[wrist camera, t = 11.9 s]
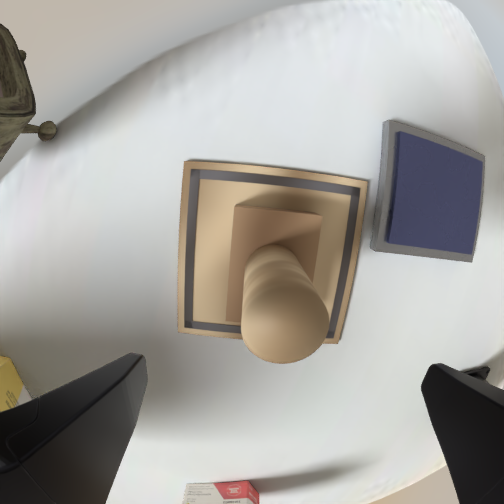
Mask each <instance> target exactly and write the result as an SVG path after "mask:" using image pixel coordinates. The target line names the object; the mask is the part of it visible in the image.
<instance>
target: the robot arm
mask: <svg viewBox="0 0 504 504" xmlns="http://www.w3.org/2000/svg"><path fill="white" fill-rule="evenodd" d="M489 371H490V368H489V367H485V368H481V369H477V370H473V371H469V372H464V373H462V372H460V371H458V370H456V369H453V368H451V367H449V366H447V365H444V364H442V363H438V364H432V365H431V366H430V367H429V369H428V371H427V373H426V375H425V377H424V379H423V382H422V384H421V391H422V394H423V397H424V400H425V403H426V407H427V410H428V413H429V417H430V420H431V423H432V426H433V428H434V431H435V433H436V436H437V439H438V441H439V444H440V446H441V449H442V452H443V454H444V457H445V460H446V463H447V466H448V468H449V471H450V474H451V477H452V480H453V483H454V487H455V490H456V493H457V497H458V500H459V503H460V504H504V390H502V389H500V388H497V387H495V386H493V385H490V384H489V383H488V382H487V381H486V380H485V379H486V377H487V375H488V373H489ZM147 380H148V378H147V369H146V361H145V357H144V356H143V355H140V354H135V353H129V354H127V355H125V356H123V357H121V358H119V359H117V360H115V361H113V362H111V363H109V364H107V365H105V366H103V367H101V368H99V369H97V370H95V371H93V372H91V373H88V374H86V375H84V376H82V377H80V378H78V379H76V380H74V381H72V382H70V383H68V384H65V385H63V386H61V387H59V388H57V389H55V390H53V391H50V392H48V393H46V394H44V395H42V396H40V398H38V397H37V398H35V399H33V400H30V401H28V402H26V403H23V404H21V405H18V406H16V407H14V408H11V409H8V410H5V411H2V412H0V504H105V503H106V500H107V498H108V495H109V492H110V490H111V487H112V484H113V482H114V479H115V476H116V474H117V471H118V469H119V466H120V463H121V461H122V458H123V456H124V453H125V451H126V448H127V446H128V443H129V441H130V438H131V436H132V433H133V431H134V428H135V426H136V422H137V419H138V415H139V411H140V407H141V404H142V400H143V397H144V393H145V389H146V386H147Z"/></svg>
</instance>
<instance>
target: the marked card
mask: <svg viewBox="0 0 504 504" xmlns="http://www.w3.org/2000/svg"><path fill="white" fill-rule="evenodd" d="M367 183H368V182H366V181H361V180H355V179H350V178H344V177H338V176H332V175H325V174H318V173H312V172H304V171H297V170H289V169H280V168H271V167H262V166H252V165H240V164H228V163H213V162H195V161H184V169H183V180H182V193H181V208H180V225H179V249H178V332H181V333H188V334H196V335H204V336H213V337H223V338H233V339H243V337H242V333H241V323H240V322H229V321H226V306H227V292H228V278H229V264H230V251H231V239H232V227H233V215H234V206H235V205H236V204H240V205H251V206H261V207H271V208H281V209H290V210H299V211H308V212H315V213H317V214H319V215H322V224H321V231H320V238H319V246H318V252H317V259H316V266H315V272H314V278H313V286H314V287H315V289H316V291H317V293H318V294H319V296H320V298H321V299H322V301H323V303H324V304H325V306H326V308H327V311H328V314H329V330H328V333H327V336H326V338H325V340H324V342H323V343H322V344H338V341H339V338H340V334H341V330H342V326H343V322H344V318H345V313H346V309H347V305H348V300H349V296H350V291H351V286H352V281H353V276H354V271H355V266H356V260H357V255H358V249H359V243H360V237H361V230H362V223H363V216H364V209H365V201H366V192H367Z"/></svg>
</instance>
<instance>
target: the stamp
mask: <svg viewBox="0 0 504 504" xmlns="http://www.w3.org/2000/svg"><path fill="white" fill-rule="evenodd" d="M321 224H322V215H319V214H317V213H315V212H308V211H299V210H290V209H281V208H271V207H261V206H251V205H240V204H236V205H235V206H234V215H233V227H232V239H231V251H230V264H229V278H228V292H227V306H226V321H229V322H240V323H241V333H242V337H243V340H244V342H245V344H246V346H247V347H248V349H249V350H250V351H251V352H252V353H253V354H254V355H256V356H257V357H259V358H261V359H263V360H265V361H268V362H272V363H279V364H285V363H292V362H296V361H299V360H302V359H304V358H306V357H308V356H310V355H311V354H312V353H314V352H315V351H316V350H317V349H318V348H319V347H320V346H321V344H322V343H323V342H324V340H325V338H326V336H327V333H328V330H329V314H328V311H327V308H326V306H325V304H324V303H323V301H322V299H321V298H320V296H319V294H318V293H317V291H316V289H315V287H314V286H313V278H314V272H315V266H316V259H317V252H318V246H319V238H320V231H321Z"/></svg>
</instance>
